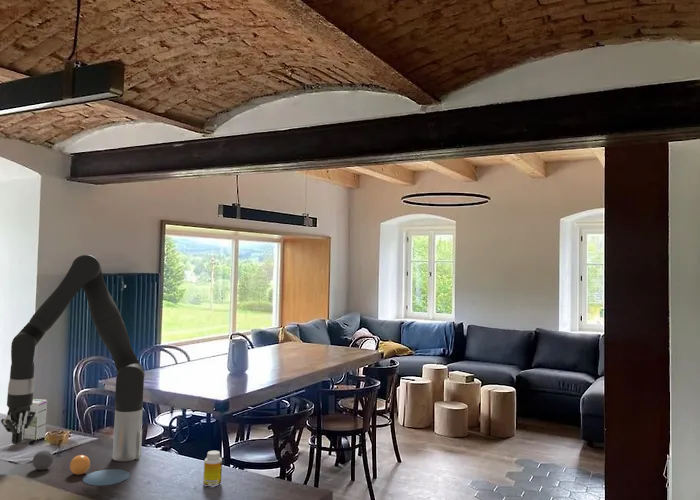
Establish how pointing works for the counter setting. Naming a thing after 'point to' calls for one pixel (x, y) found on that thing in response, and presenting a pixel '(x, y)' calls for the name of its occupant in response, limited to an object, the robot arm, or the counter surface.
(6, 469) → the counter surface
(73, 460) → the object ball
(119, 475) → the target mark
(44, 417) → the syrup box
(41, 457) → the cue ball
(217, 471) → the supplement bottle
